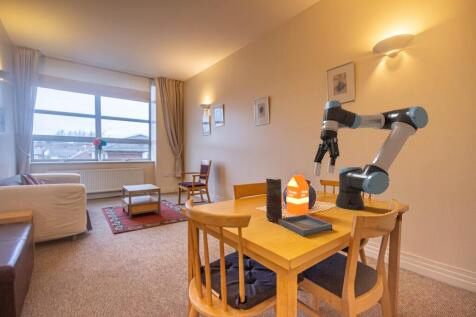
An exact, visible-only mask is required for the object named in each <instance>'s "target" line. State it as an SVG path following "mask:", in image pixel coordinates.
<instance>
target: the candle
mask: <svg viewBox="0 0 476 317" xmlns="http://www.w3.org/2000/svg"><path fill="white" fill-rule="evenodd" d="M265 186H266V188H265V189H266V190H265V192H266V194H265V195H266V197H265V198H266V200H265V201H266V204H265V206H266V208H265V209H266V218H267V220H269V221H271V222H272V223H278V219H280V218H283V209H282V208H283V203H282V201H283V200H282V196H283V195H282V179H281V178H276V179H275V178H266V179H265Z"/></svg>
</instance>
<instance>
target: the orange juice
mask: <svg viewBox="0 0 476 317" xmlns="http://www.w3.org/2000/svg"><path fill="white" fill-rule="evenodd" d="M309 189H310V187H309V184H308V182H307V180H306V179H305V176H304V175H303V174H296V175H292V177H291V178H290V180H289V181H288V183H287V184H286V213H287V212H288V213H287V214H290V213H291V215H293V214H295V215H294V216H296V215H302V214H308V213H309V200H310V198H309V197H310V196H309V191H310V190H309Z"/></svg>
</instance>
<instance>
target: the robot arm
mask: <svg viewBox="0 0 476 317" xmlns="http://www.w3.org/2000/svg"><path fill="white" fill-rule="evenodd" d="M320 121H321V122H320V125H321V130H320V141H321V140H322V143H319V144H318V147H317V151H316V154H315V157H314V158H313V163H315V166H314V171H313V173H314V174H313V176H315V177H320V176H321V170H322V164H323V163H322V162H323V159H324V158H325V155H326V153H329V157H328V163H327V173H328V174H333V175H334V174H335V169H336V162H337V159H338V157H340V156H341V155H340V150H339V143H338V141H339V138H338V132H339V130H340V129H351V130H356V129H366V128H367V129H369V128H370V129H375V130H386V131H387V130H388V131H389V133H388V135H387V137H386V138H385V139H384V142H383V143H382V145H381V147H380V148H379V149H378V150H377V152H376V154H375V155H374V157H373V158H372V159H371V162H370V163H366V164H365V165H364V167H363V169H362V167H361V166H352V167H346V166H345V167H341V168H340V169H339V172H338V182H339V183H338V194H337V197H336V199H335V207H336V206H337V207H338V208H341V209H346V210H363V209H364V208H365V202H364V198H363V196H362V193H365V194H369V195H382V194H383V193H385V192H386V191H387V189H388V188H389V187H390V183H389V182H390V178H389V176H390V174H389V172H388V171H389V170H390V168H391V166H392V165H393V163H394V161H395V160H396V158H397V157H398V155H399V153H400V151H401V150H402V149H403V147H404V145H405V144H406V142H407V141H408V139H409V138H410V137H411V136H414V135H415V134H416V132H417V131H418V130H421V129H423V128H426V127H427V125H428V123H429V115H428V112H427V110H426V109H425V108H424V107H423V106H420V105H419V106H418V105H417V106H416V105H415V106H410V107H406V108H405V107H404V108H399V109H393V110H389V111H385V112H383V111H382V112H376V113H375V114H357V113H356V112H352V111H350V110H347V109H345V108H342V102H341V101H339V100H336V99H335V100H329V101H326V103H325V105H324V109H323V116H322V119H321V120H320Z"/></svg>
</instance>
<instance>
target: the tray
mask: <svg viewBox="0 0 476 317" xmlns="http://www.w3.org/2000/svg"><path fill="white" fill-rule="evenodd" d="M277 225H279V226H281V227H283V228H285V229H287V230H288V231H291V232H293V233H295V234H297V235H299V236H301V237H309V236H312V235H317V234H321V233H325V232H330V231H333V224H332V223H331V222H328V221H325V220H323V219H319V218H317V217H314V216H311V215H309V214H308V213H306V214H302V215H292V216H286V217H282V218H280V219H278V221H277Z"/></svg>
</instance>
